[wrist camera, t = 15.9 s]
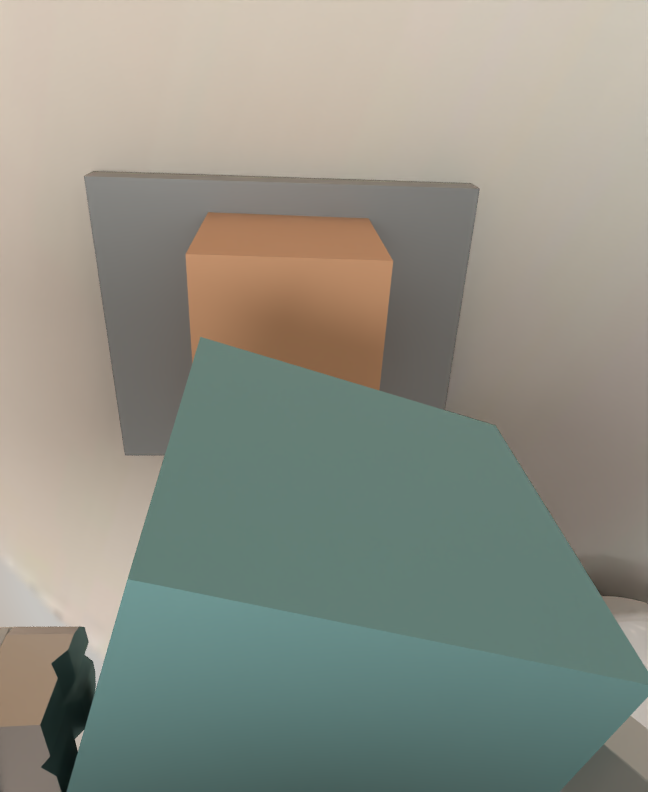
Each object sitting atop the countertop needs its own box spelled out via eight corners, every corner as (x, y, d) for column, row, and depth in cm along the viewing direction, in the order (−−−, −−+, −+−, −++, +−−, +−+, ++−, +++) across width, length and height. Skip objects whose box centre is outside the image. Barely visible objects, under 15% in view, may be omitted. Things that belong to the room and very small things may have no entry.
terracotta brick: (368, 218, 19) (393, 260, 14) (350, 433, 22) (366, 516, 18) (208, 212, 18) (185, 254, 14) (217, 431, 22) (202, 516, 18)
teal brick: (495, 426, 10) (657, 686, 6) (328, 716, 13) (351, 1013, 9) (200, 336, 9) (128, 578, 5) (101, 679, 12) (7, 997, 8)
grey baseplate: (470, 183, 19) (479, 188, 18) (431, 441, 24) (437, 455, 23) (93, 171, 18) (84, 176, 18) (130, 440, 23) (125, 455, 22)
